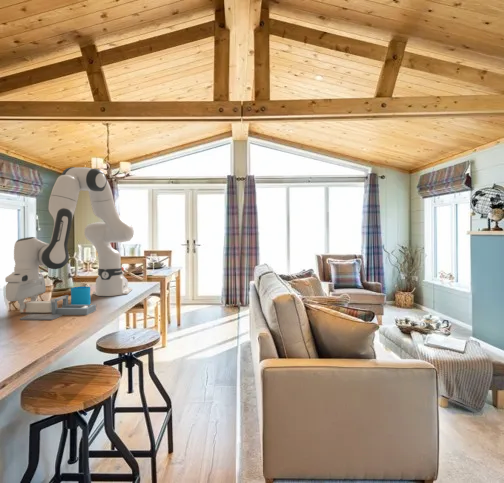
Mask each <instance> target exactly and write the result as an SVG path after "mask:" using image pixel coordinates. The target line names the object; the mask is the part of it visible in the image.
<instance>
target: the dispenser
mask: <svg viewBox="0 0 504 483" xmlns="http://www.w3.org/2000/svg"><path fill="white" fill-rule="evenodd" d="M69 297H70V296H69V294H65V295H62V296H58V297H56V298H52V299H50V301H51V307H52V312H51V314H62V316H67V315H69V316H76V315H77V316H88V315H90V314H92V313H93V312H96V311H97V304H91V305H71V304H69ZM58 301H62V305H61V307H58Z"/></svg>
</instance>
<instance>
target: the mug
mask: <svg viewBox="0 0 504 483" xmlns="http://www.w3.org/2000/svg"><path fill="white" fill-rule="evenodd" d="M91 299H92V298H91V287H90V286H88V285H87V286H86V285H84V286H75V287H71V288H70V305H90V304H91V302H92V301H91ZM91 305H92V304H91Z"/></svg>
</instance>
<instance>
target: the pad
mask: <svg viewBox="0 0 504 483" xmlns="http://www.w3.org/2000/svg"><path fill="white" fill-rule="evenodd" d="M62 316H63V315H62V314H52V313H30V314H27V315H26V316H23V317H20V318H19V320H20V321H53V319H54V320H56V319H59V318H60V317H62Z"/></svg>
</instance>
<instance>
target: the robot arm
mask: <svg viewBox="0 0 504 483" xmlns="http://www.w3.org/2000/svg"><path fill="white" fill-rule="evenodd" d="M55 180H56V181H55V182H54V185H53V187H52V190H51V193H50V195H49V200H48V212H49V214H50V215H51V217H52V218H53V230H52V234H51V238H50V243H48V242H45V241H42V240H40V239H38V238H36V237H34V236H30V237H22V238H19V239H17V240H16V241H15V242H14V249H13V260H14V263H15V264H14V267H13V268H14V269H13V272H12V273H11V274H8V275H7V276H6V277H5V283H6V285H5V298H6V301H7V302H17V303H18V305H19V310H20V309H26V304H25V303H24V301H26V300H25V299H28V298H30V300H29V301H37V298H38V296H39V295H41V294H45V292H46V290H47V287H46V281H45V278H44V275H43V274H42V273H41V272H39V271H40V270H39V269H40V266H45V267H47V268H48V269H51V270H58V269H61V268H63V267H65V265H67V264H68V262H69V259H70V253H69V249H68V242H69V239H70V231H71V227H72V222H73V219H74V218H73V217H74V214H75V210H76V208H77V205H78V200H79V196H80V193H81V192H87V191H88V196H89V201H90V206H91V209H92V213H93V214H94V216H95V217H97V218H99V219H100V220H102V221H97V222H92V223H88V224H87V225H86V226H85V228H84V236H85V239H86V240H87V241H89V242H90V243H91V244H92V246H94V248H95V250H96V252H97V259H98V260H97V261H98V269H97V275H98V277H96V279H95V291H93V295H96V296H98V297H115V296H122V295H128V294H129V293H131V291H132V290H133V287H129V282H128V281H129V280H128V279H127V278H126V277H125V276H124V274H123V271H125V269H124V268H125V267H122V263H121V262H122V260H121V258H122V256H121V253H120V251H119V250H117V249H114V248H113V247H112V244H111V243H126V242H129V241H131V240H132V238H133V237H134V235H135V234H134V227H133V226H132V224H130V223H129V222H127V221H126V220H124V219H123V217H122V216H121V215H120V214H119V212H118V210H117V208H116V207H117V206H116V204H115V201H114V196H113V191H112V187H111V185H110V183H109V181H108V178H107V175H106V173H105V172H104V171H102V170H101V169H99V168H96V167H95V168H92V167H85V166H83V167H79V166H78V167H76V166H75V167H74V166H71V167H68V168H65V169H64V170H63V171H62V173H61V175H59V176H58V177H57V178H56V179H55Z"/></svg>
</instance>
